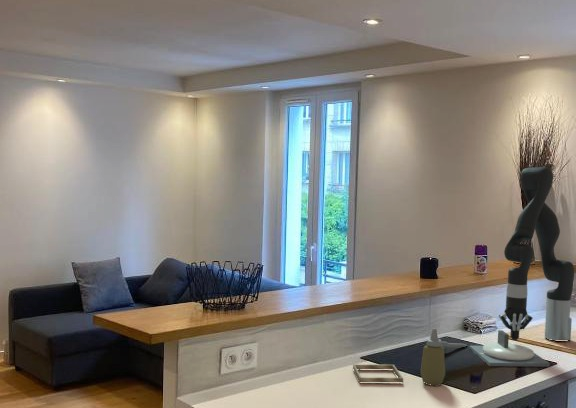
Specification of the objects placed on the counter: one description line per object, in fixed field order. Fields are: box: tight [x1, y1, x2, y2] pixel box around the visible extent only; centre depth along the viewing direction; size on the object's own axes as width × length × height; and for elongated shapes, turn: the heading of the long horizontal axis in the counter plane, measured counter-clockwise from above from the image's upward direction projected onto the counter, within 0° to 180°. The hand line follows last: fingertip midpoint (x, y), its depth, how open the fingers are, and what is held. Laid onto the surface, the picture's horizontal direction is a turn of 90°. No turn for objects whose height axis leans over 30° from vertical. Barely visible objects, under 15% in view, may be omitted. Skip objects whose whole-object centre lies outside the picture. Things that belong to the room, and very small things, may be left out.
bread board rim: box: [352, 363, 404, 383], centre depth 220 cm, size 14×14×2 cm
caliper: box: [438, 338, 468, 350], centre depth 253 cm, size 20×1×6 cm, turn 131°
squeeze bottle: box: [419, 328, 446, 386], centre depth 214 cm, size 8×8×18 cm
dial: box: [482, 330, 535, 361], centre depth 247 cm, size 19×18×6 cm
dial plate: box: [468, 345, 551, 368], centre depth 247 cm, size 22×22×1 cm
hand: (514, 339), depth 254 cm, fingers closed
